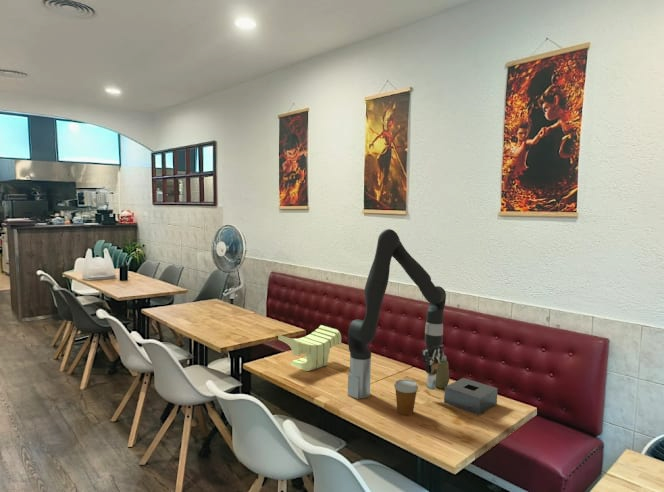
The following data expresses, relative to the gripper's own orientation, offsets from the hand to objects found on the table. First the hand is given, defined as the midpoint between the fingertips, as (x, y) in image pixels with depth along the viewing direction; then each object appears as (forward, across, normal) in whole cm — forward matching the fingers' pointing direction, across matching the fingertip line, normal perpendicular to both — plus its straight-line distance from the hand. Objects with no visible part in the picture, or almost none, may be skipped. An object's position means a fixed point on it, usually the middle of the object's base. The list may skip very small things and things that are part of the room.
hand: (431, 371), depth 189 cm
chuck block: (+13, +10, -13) cm, 21 cm away
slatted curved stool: (+13, -12, +66) cm, 69 cm away
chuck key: (+7, 0, 0) cm, 7 cm away
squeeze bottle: (+13, +17, +6) cm, 22 cm away
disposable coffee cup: (+13, -18, 0) cm, 22 cm away
